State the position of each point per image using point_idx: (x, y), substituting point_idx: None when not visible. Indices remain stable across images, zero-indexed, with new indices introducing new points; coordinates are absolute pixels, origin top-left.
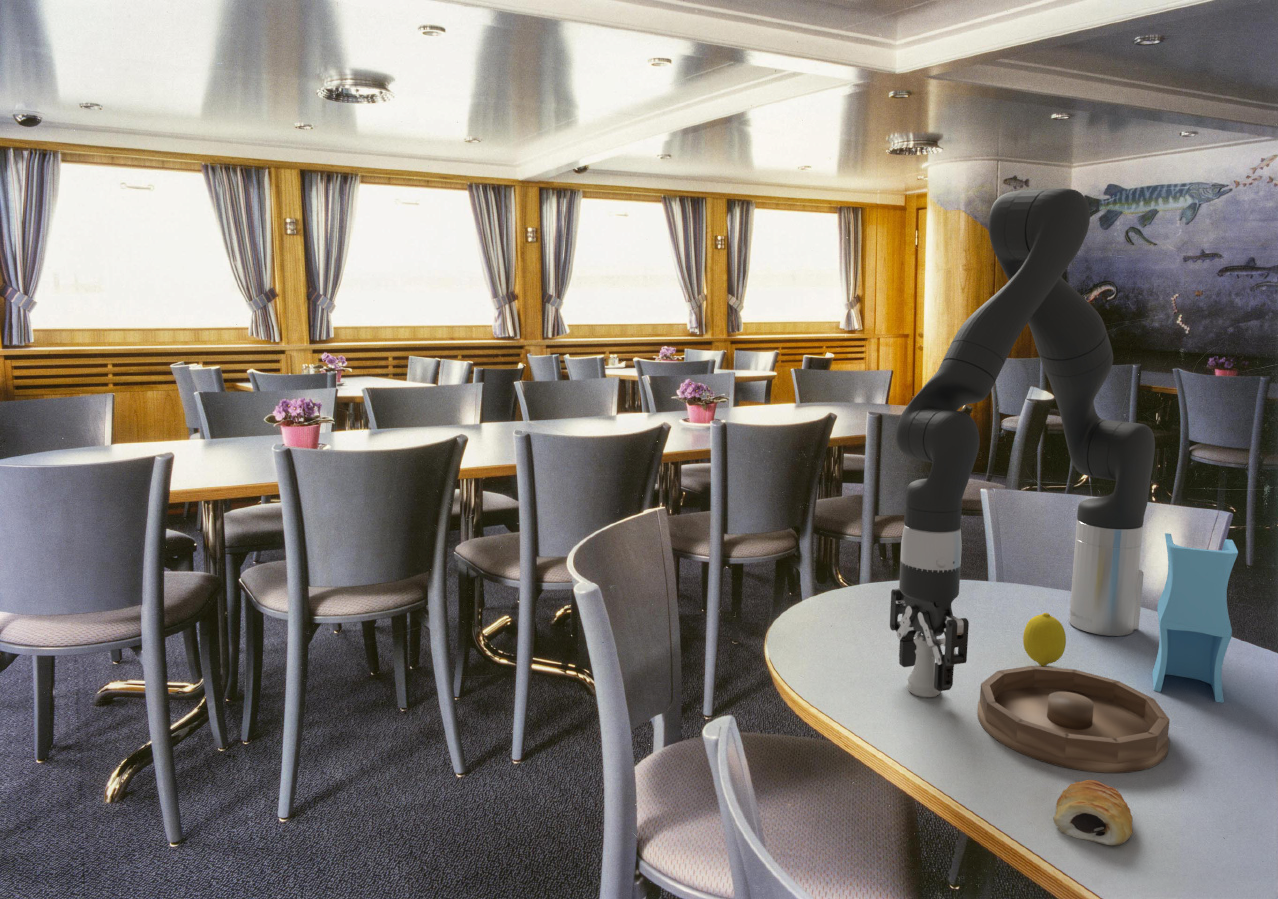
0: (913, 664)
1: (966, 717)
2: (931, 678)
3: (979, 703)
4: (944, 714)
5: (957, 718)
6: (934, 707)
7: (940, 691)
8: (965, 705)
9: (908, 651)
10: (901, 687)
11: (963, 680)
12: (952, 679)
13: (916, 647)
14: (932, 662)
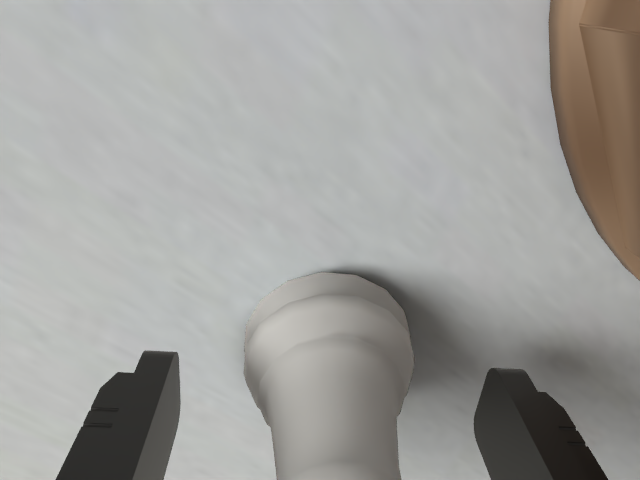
0: (178, 363)
1: (612, 326)
2: (399, 404)
3: (632, 258)
4: (539, 382)
5: (594, 360)
6: (472, 380)
7: (396, 303)
8: (535, 258)
9: (155, 462)
10: None
11: (297, 52)
12: (575, 431)
13: (149, 437)
14: (397, 464)
